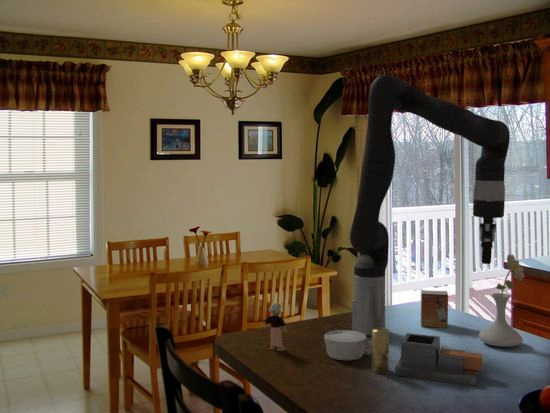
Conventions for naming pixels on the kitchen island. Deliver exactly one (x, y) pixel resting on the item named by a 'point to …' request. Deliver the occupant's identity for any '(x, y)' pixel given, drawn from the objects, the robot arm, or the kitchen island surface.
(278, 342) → the grandmother figurine
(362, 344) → the ramekin
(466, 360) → the lock pin
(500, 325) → the flower in vase
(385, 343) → the brass peg
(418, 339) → the dock
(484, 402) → the kitchen island surface
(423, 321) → the small box
